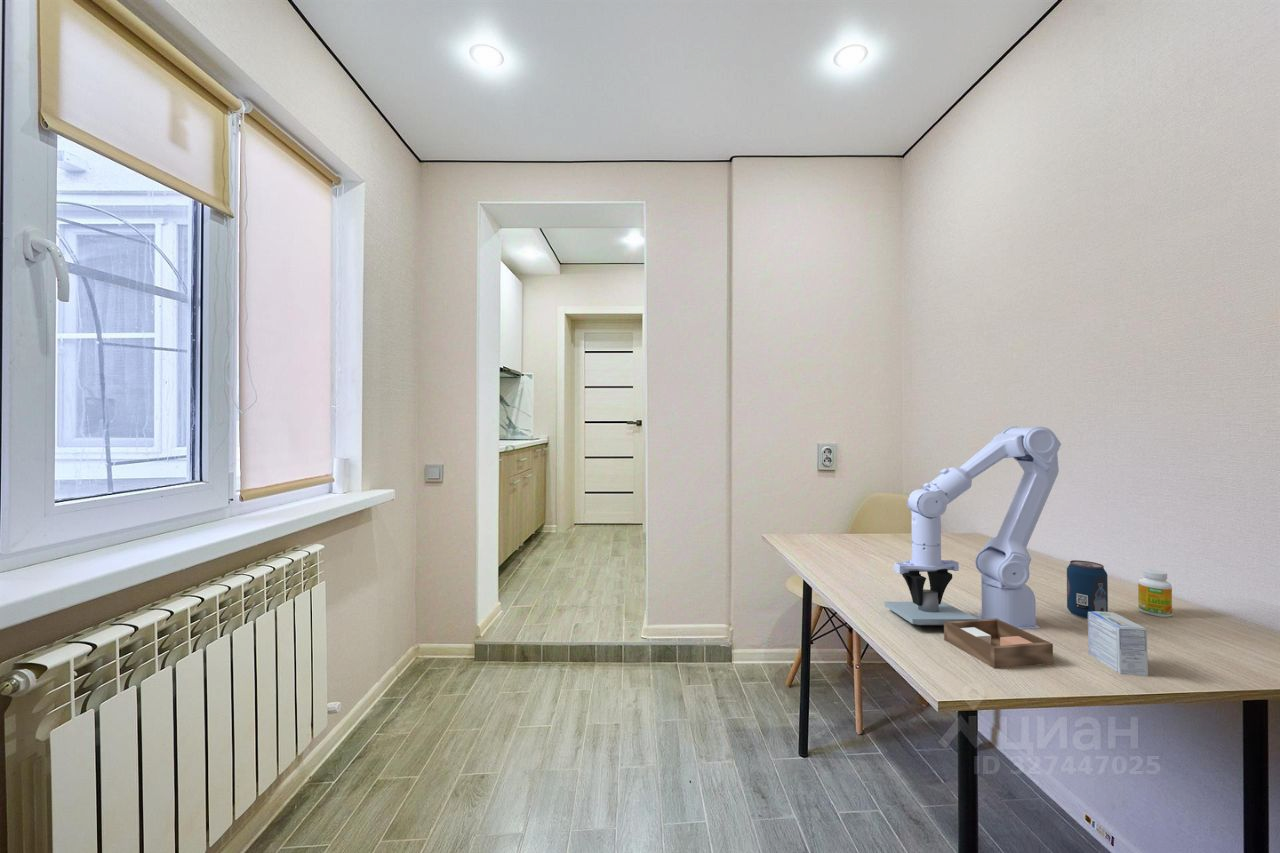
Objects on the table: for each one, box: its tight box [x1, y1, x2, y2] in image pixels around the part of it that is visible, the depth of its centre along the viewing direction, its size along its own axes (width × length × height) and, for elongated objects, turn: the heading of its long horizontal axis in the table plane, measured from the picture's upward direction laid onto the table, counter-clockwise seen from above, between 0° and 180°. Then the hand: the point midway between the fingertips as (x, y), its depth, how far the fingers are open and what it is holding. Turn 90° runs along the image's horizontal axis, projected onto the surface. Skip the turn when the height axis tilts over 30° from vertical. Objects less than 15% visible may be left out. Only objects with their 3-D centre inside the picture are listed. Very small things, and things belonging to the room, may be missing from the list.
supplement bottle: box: [1137, 568, 1173, 618], centre depth 113 cm, size 5×5×10 cm
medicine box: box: [1087, 611, 1149, 677], centre depth 89 cm, size 8×4×9 cm, turn 168°
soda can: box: [1066, 559, 1109, 621], centre depth 112 cm, size 7×7×12 cm
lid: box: [884, 588, 979, 626], centre depth 110 cm, size 14×14×6 cm
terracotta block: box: [1000, 636, 1032, 646], centre depth 92 cm, size 4×4×3 cm
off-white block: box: [960, 627, 991, 644], centre depth 97 cm, size 4×4×3 cm
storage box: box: [943, 618, 1054, 670], centre depth 94 cm, size 12×12×4 cm
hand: (926, 603), depth 110 cm, fingers closed on lid, 4 cm apart
